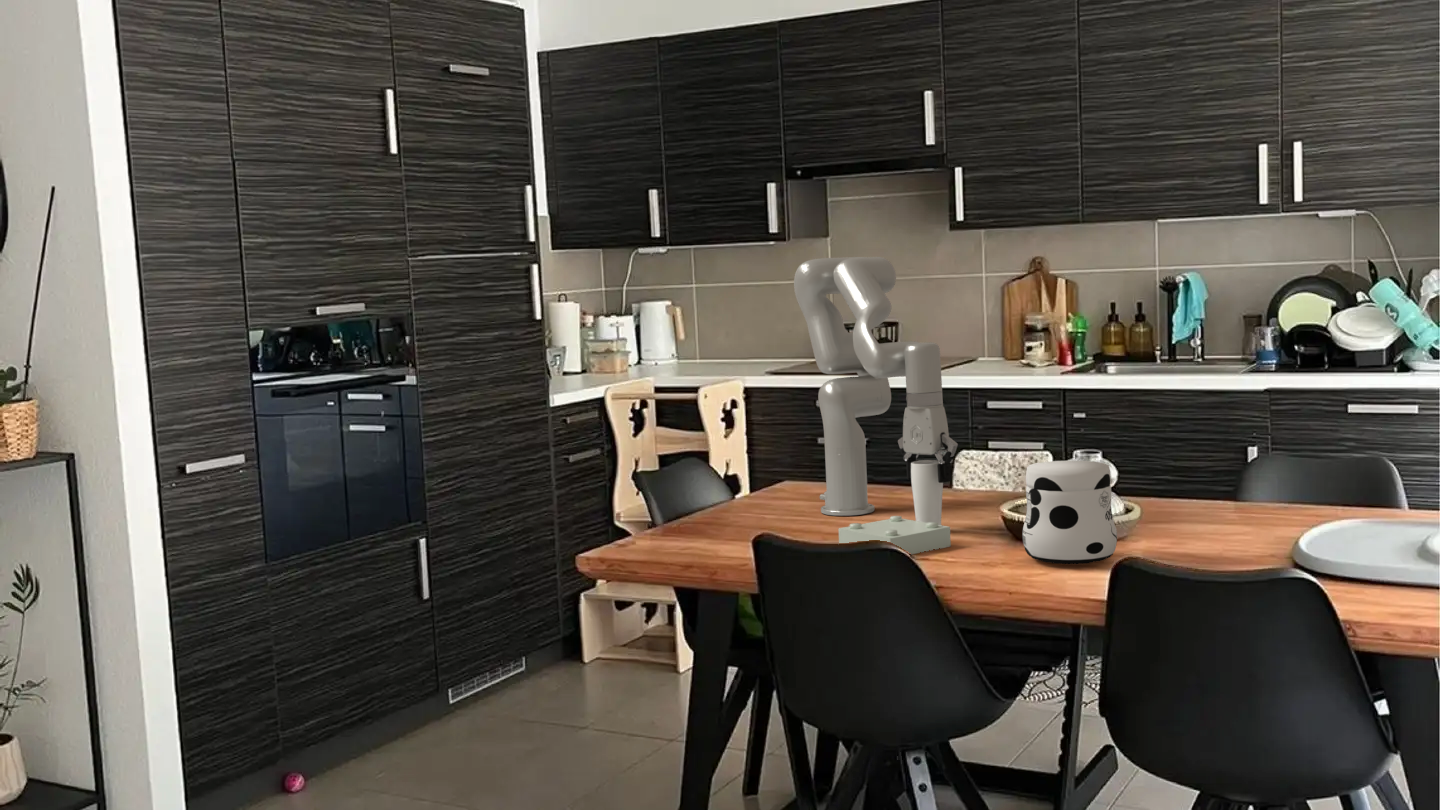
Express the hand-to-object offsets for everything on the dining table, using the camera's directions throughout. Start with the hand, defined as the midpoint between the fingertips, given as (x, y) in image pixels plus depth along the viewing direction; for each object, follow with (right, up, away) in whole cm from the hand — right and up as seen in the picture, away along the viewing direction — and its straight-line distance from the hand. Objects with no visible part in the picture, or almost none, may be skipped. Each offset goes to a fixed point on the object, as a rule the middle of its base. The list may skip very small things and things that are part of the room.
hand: (928, 480), depth 296 cm
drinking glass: (0, -11, +2) cm, 11 cm away
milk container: (+22, -14, -33) cm, 42 cm away
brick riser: (-9, -13, -13) cm, 20 cm away
